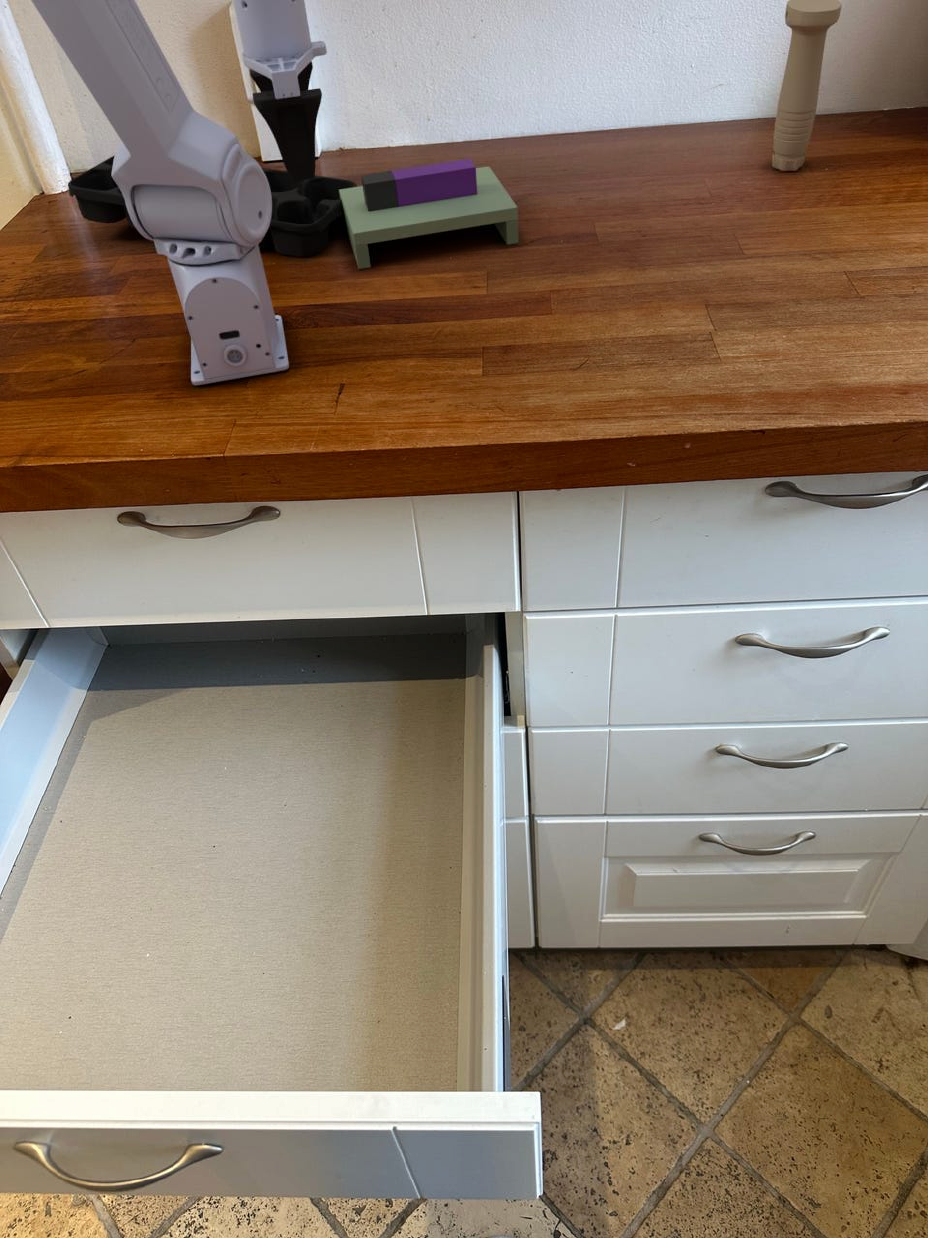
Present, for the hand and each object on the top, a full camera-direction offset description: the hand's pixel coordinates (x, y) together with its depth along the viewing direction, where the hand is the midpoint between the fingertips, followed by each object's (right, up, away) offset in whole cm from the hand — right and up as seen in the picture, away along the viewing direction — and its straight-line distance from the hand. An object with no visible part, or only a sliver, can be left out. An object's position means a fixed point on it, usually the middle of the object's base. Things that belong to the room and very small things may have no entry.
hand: (299, 164), depth 83 cm
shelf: (+11, -2, +10) cm, 15 cm away
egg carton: (-11, +1, +15) cm, 19 cm away
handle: (+50, +7, +15) cm, 53 cm away
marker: (+11, 0, +8) cm, 13 cm away
